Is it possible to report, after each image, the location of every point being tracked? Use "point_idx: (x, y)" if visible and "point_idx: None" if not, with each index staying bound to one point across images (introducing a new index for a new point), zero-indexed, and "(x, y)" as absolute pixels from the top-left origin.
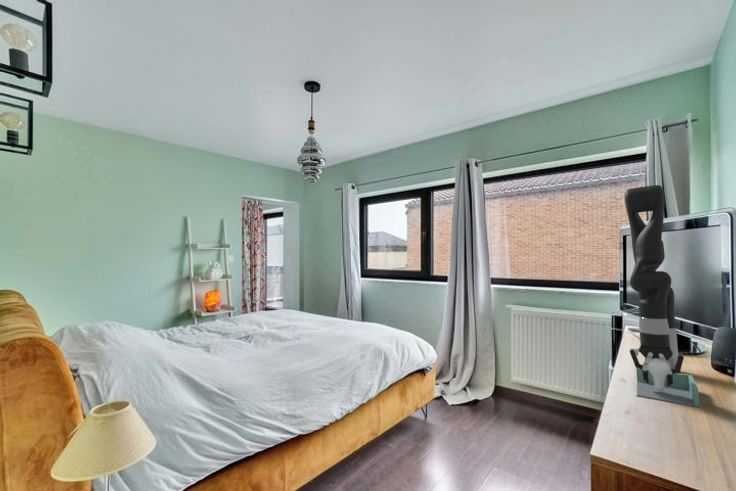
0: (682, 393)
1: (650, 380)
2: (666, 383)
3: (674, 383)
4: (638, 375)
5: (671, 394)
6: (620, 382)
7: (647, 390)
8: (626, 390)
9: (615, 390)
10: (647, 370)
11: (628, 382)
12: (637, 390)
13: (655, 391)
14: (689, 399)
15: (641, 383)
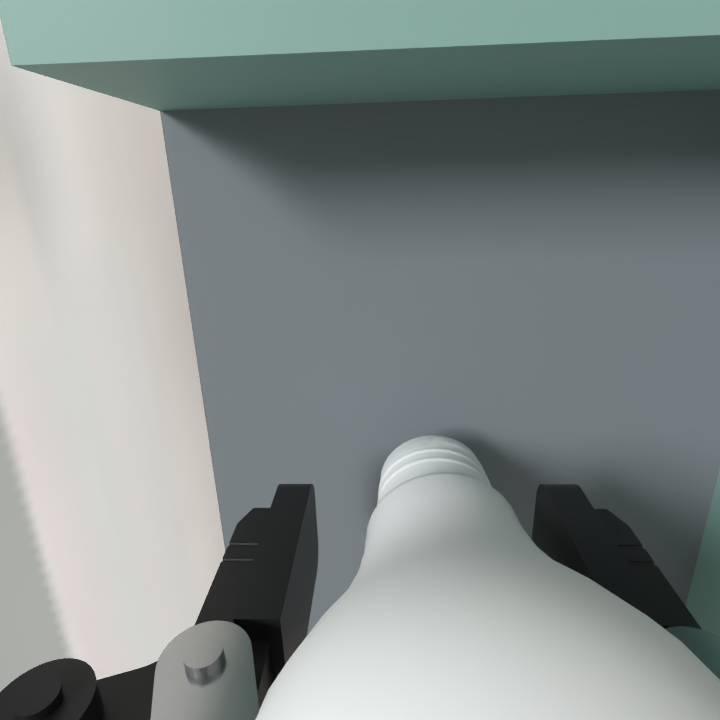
0: (660, 360)
1: (326, 98)
2: (544, 93)
3: (666, 79)
4: (136, 96)
5: (533, 465)
6: (4, 264)
7: (312, 468)
8: (138, 530)
9: (61, 583)
10: (276, 655)
11: (77, 195)
12: (226, 524)
13: (386, 456)
14: (674, 532)
15: (225, 200)
